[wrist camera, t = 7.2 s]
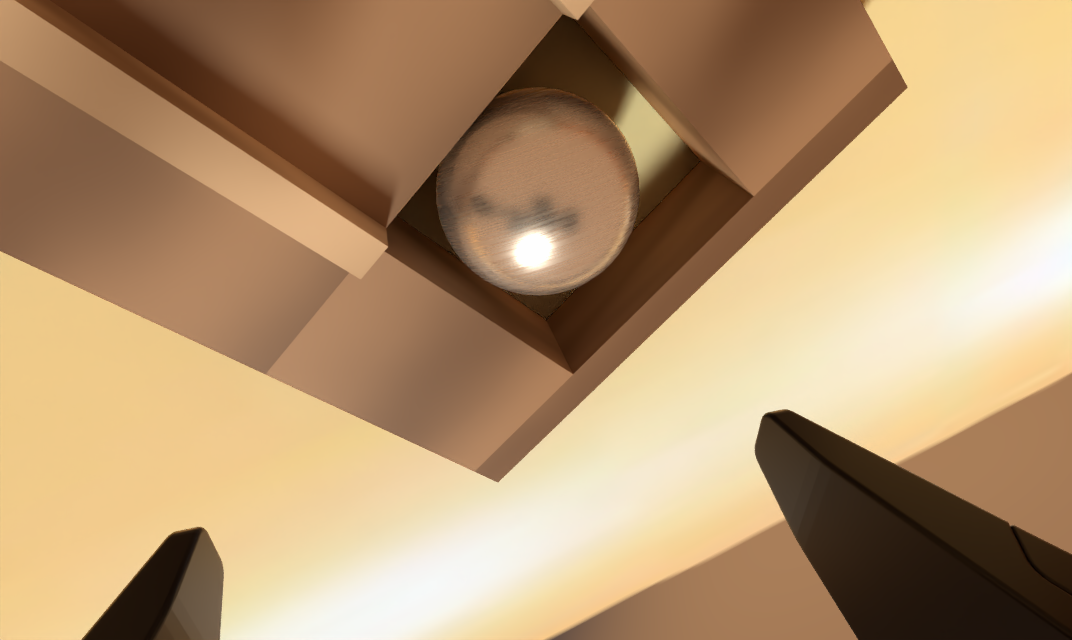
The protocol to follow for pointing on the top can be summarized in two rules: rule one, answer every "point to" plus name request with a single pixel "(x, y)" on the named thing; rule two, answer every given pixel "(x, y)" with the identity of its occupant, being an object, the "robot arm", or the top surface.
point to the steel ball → (538, 192)
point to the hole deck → (395, 182)
